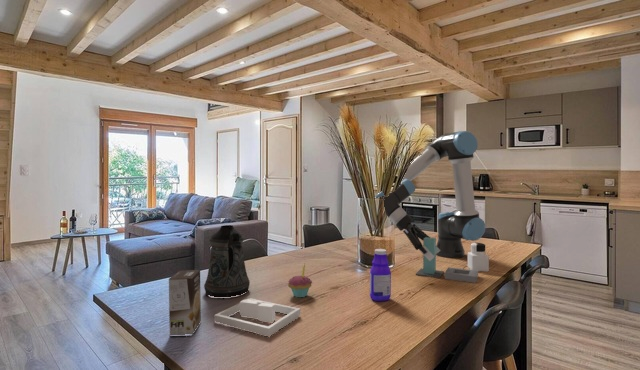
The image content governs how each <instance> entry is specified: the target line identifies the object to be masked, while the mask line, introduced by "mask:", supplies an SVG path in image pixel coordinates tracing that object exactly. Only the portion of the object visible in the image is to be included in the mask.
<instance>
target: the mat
mask: <svg viewBox="0 0 640 370" xmlns="http://www.w3.org/2000/svg"><path fill="white" fill-rule="evenodd" d="M443 274H445V271H444V270H439V269H438V270H437V269H436V272H435V273H434V274H428V273H423V268H420V269H419V270H418V271H417V272H416V273H415V276H419V277H426V278H427V277H428V278H437V279H440V278H441V277H442V276H443Z"/></svg>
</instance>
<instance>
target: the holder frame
mask: <svg viewBox="0 0 640 370" xmlns="http://www.w3.org/2000/svg"><path fill="white" fill-rule="evenodd" d="M246 300H254V301H263V303H269V304H275V311H276V312H280V313H284V314H287V315H284V314H283V315H284V316H283V317H281V318H279V319H278V320H276V321H275V322H274V323H273V324H269V325H264V324H259V323H255V322H252V321H247V320H244V319H240V318H235V317H233V316H232V317H228V316H229V315H231V314H234V313H235V312H237V311H239V310H240V302H238V303H236V304H235V305H232V306H230V307H228V308H226V309H224V310H221V311H219V312H218V313H216V314H214V316H213V317H214V318H213V319H214V322H215V321H216V322H220V323H223V324H227V325H230V326H234V327H238V328H241V329H245V330H249V331H252V332H256V333H259V334H262V335H266V336H270V335H272V334H273V333H275V332H276V331H278V330H279V329H281V328H283V327H284V326H286V325H287V326H289V325H290V324H292V323H293V322H294V321H296V320H297V319H299V318H300V317H301V308H299V307H293V306H291V305H290V306H289V305H286V304H279V303H275V302H270V301H265V300H262V299H261V300H260V299H255V298H251V297H248V298H247V299H246ZM280 313H279V314H280ZM299 316H300V317H299ZM298 317H299V318H298ZM295 319H296V320H295ZM292 321H293V322H292ZM289 323H290V324H289ZM288 324H289V325H288ZM287 326H286V327H287ZM284 328H285V327H284ZM284 328H283V329H284ZM281 330H282V329H281ZM278 332H279V331H278ZM275 334H276V333H275ZM272 336H273V335H272Z"/></svg>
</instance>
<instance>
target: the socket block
mask: <svg viewBox="0 0 640 370" xmlns="http://www.w3.org/2000/svg"><path fill="white" fill-rule="evenodd" d="M478 278H479V271H477V270H471V269H469V268H460V267H459V268H458V267H449V266H448V267H447V269H446V270H445V271H444V280H451V281H458V282H459V281H460V282H466V283H473V284H476V283H477V281H478Z"/></svg>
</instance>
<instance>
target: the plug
mask: <svg viewBox="0 0 640 370" xmlns="http://www.w3.org/2000/svg"><path fill="white" fill-rule="evenodd" d="M430 237H431V236H429V237H425V238H424V239H423V240H422V242H423V243H422V245H424V246H425V247H426V248H427V249H428V250H429V251H430V252H431V253H432V254H433V255H434V258H433V259H432V260H431V261H429V260H428V259H427V258H426V257H425V256H424V255H422V256H423V257H422V260H423V261H422V262H423V263H422V267H423V268H422V269H423V273H428V274H434V273H435V272H436V270H437V261H436V260H437V255H436V245H437V238H436V237H431V238H430Z"/></svg>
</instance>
